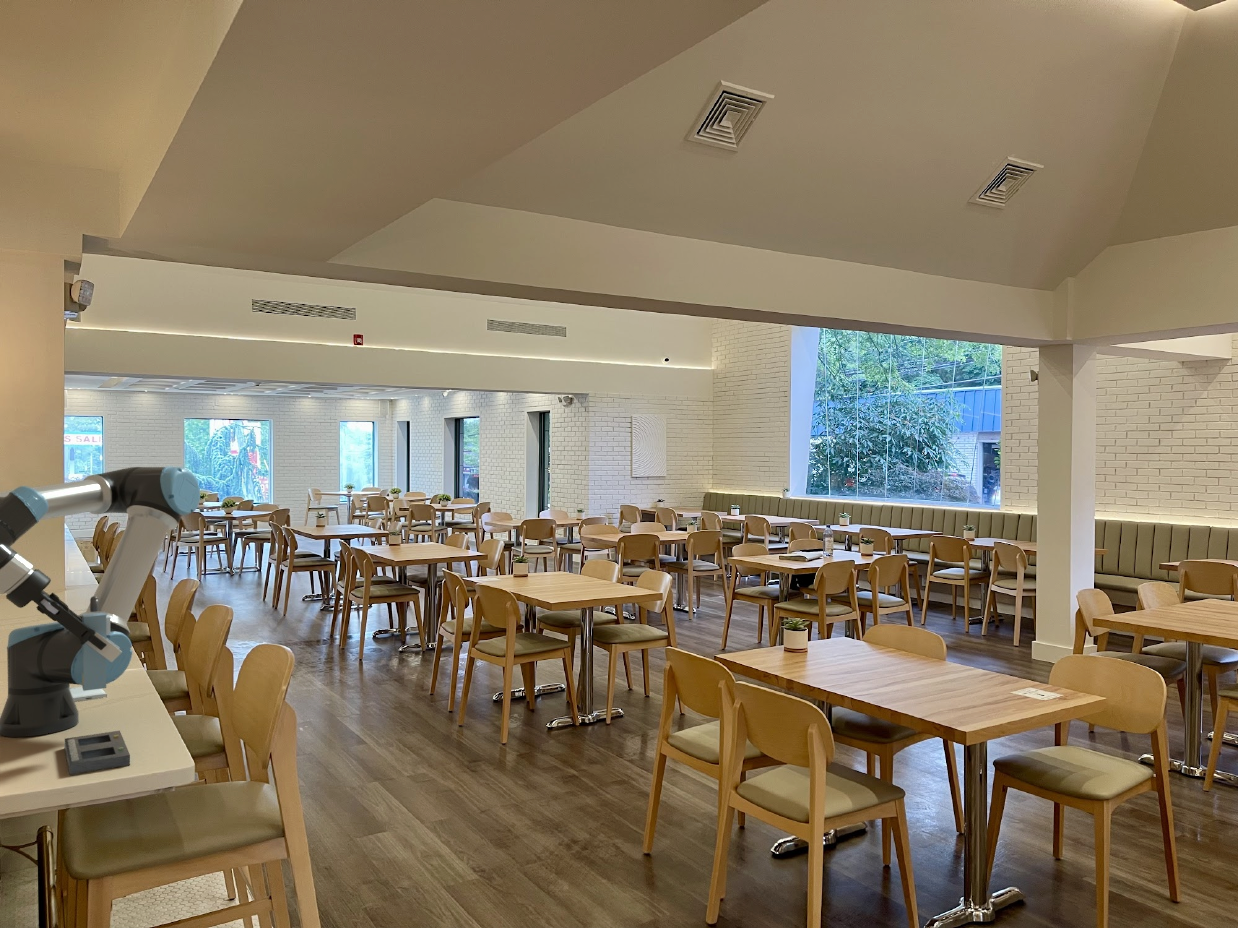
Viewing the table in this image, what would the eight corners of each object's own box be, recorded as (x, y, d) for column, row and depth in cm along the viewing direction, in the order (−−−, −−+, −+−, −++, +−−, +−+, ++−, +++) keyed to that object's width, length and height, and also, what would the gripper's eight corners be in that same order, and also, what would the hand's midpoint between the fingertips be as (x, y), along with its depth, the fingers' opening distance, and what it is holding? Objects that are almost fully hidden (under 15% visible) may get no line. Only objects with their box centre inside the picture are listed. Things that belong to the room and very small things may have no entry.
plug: (82, 686, 183) (81, 595, 184) (109, 683, 186) (108, 593, 186) (83, 690, 180) (83, 598, 180) (110, 687, 183) (110, 596, 183)
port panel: (64, 748, 184) (64, 737, 184) (119, 739, 190) (119, 728, 190) (69, 775, 168) (69, 762, 168) (129, 765, 173) (129, 753, 173)
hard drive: (63, 688, 231) (69, 697, 221) (99, 684, 236) (107, 692, 226) (63, 695, 231) (69, 704, 221) (99, 690, 236) (107, 699, 226)
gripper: (4, 591, 181) (97, 662, 191) (3, 601, 167) (104, 677, 177) (35, 563, 184) (125, 634, 194) (36, 571, 170) (134, 647, 180)
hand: (115, 654), depth 185 cm, fingers closed on plug, 4 cm apart
